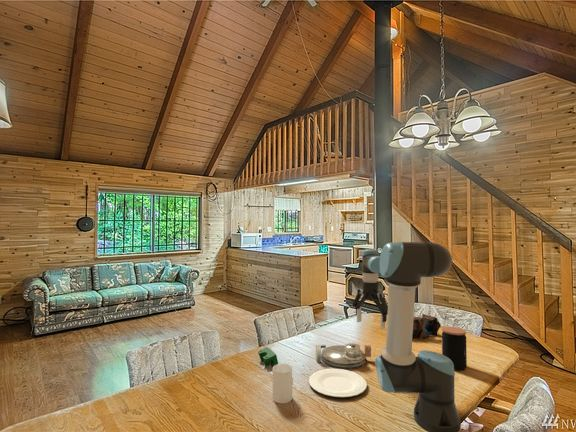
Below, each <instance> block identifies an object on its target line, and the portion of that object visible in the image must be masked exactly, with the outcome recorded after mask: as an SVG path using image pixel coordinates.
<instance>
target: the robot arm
mask: <svg viewBox="0 0 576 432" xmlns="http://www.w3.org/2000/svg"><path fill="white" fill-rule="evenodd" d="M361 258H362V273H361V274H362V275H361V276H362V288H358V289H357V292H356V295H355V298H354V301H352V307H354V308H355V315H356V322H357V323H361V322H362V308H361V307H362V305H364V303H365V302H366V301H370V302H373V303H374V304H375V305H376V307H377V308H378V310H379V311H380V330H384V329H386V338H385V346H384V347H383V348H382V349H381V351H380V353H381V354H380V355H377V356H375V358H374V360H375V361H374V363H375V364H374V365H375V370H376V376H377V380H378V383H379V385H380V388H381V390H382V391H383V392H386V393H393V394H398V393H401V394H418V397H417V399H416V402H415V404H414V407H413V419H414V421H415V422H416V423H417V425H419V426H420V427H421V428H423V429H425V430H427V431H429V432H460V430H461V428H462V427H461V425H462V424H461V418H460V415H459V412H458V409H457V405H456V403H455V397H456V396H455V376H456V375H455V374H456V372H455V370H454V364H453V362H452V361H451V360H450V359H449V358H448V357H446V356H444V355H442V353H439V352H436V351H432V350H426V349H425V350H424V349H423V350H420V351H418V353H417V356H416V354H415V353H414V352H413V351H412V350H413V349H412V348H413V336H412V335H413V319H414V317H415V315H414V314H415V303H416V301H415V300H416V288H418V287H419V286H421V283H422V278H434V277H439V276H442V275H445V274H446V273H447V272H448V271H450V269H451V267H452V265H453V257H452V254H451V252H450V251H449V249H448V248H447V247H446V246H444V245H441V244H439V243H437V242H432V241H425V242H424V241H421V242H420V241H419V242H417V241H416V242H415V241H413V242H411V241H410V242H409V241H395V242H388V243H386V244H385V245H384V246H383V247H382V250H381V253H380V255H379V250H378V249H370V248H369V249H367V248H366V249H363V250H362V255H361ZM379 274H380V275H381V277H383V278H384V282H385V283H387V285H388V296H387V297H388V299H387V300H388V301H387V300H386V299H385V292H380V293H379V282H378V281H379Z"/></svg>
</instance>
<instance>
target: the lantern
mask: <svg viewBox="0 0 576 432" xmlns="http://www.w3.org/2000/svg"><path fill="white" fill-rule="evenodd" d="M440 328H441V323H440V321H439V319H438V317H436V316H432V315H427V314H424V313H423V314H422V317H420V316H414V319H413V335H412V337H414V338H417V339H420V340H423V339H425V338H426V337H427V338H428V339H429V338H430V337H429V336H431V335H432V336H433V335H434V336H438V333H439V330H440Z"/></svg>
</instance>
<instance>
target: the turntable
mask: <svg viewBox="0 0 576 432" xmlns="http://www.w3.org/2000/svg"><path fill="white" fill-rule="evenodd" d="M322 349H323V350H321V353H322V357H323V358H324V359H325V360H327V361H329V362H331V363H335V364H340V365H354V364H358V363H361V362H363V361H364V359H365V357H366V358H372V346H371V345H370V344H368V345H367V344H364V351H363V350H362V349H360V353H361V354H362V359H361V360H359V361H350V360H346V359H345V358H344V357H343V353H344V352H345V345H342V344H341V345H340V344H339V345H338V344H337V345H331V346H326V348H322Z"/></svg>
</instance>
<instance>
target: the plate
mask: <svg viewBox="0 0 576 432" xmlns="http://www.w3.org/2000/svg"><path fill="white" fill-rule="evenodd" d="M308 383H309V386H310V387H311V388H312V389H313V390H314V391H316V392H318V393H319V394H321V395H324V396H327V397H332V398H342V399H343V398H353V397H356V396H359V395H362V394H363V393H364V392H365V391H366V390H367V387H368V384H367V381H366V380H365V378H364V377H362V376H361V375H360V374H359V373H356V372H354V371H351V370H349V369H338V368H326V369H320V370H318V371H315V372H313V374H311V375H310V376H309V378H308Z"/></svg>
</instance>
